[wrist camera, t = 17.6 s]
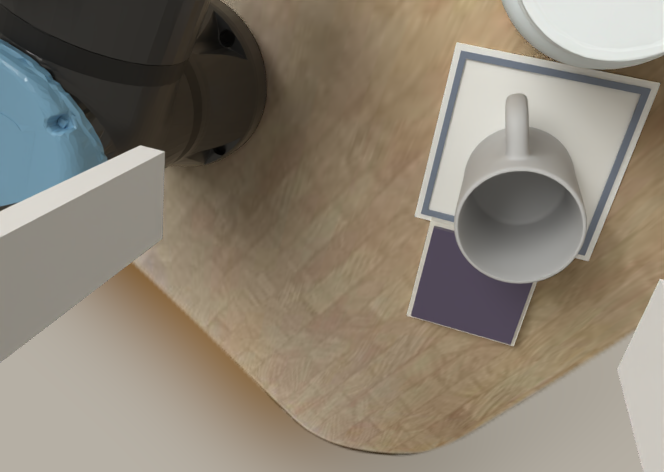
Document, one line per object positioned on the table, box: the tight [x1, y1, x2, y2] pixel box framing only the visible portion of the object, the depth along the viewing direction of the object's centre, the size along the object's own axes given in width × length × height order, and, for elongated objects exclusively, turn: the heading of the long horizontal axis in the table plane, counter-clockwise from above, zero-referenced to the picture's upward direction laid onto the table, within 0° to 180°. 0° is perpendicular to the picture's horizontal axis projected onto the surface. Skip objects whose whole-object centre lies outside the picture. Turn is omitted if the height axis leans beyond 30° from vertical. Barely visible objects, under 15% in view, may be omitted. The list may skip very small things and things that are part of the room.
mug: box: [454, 93, 587, 284], centre depth 43 cm, size 12×8×11 cm
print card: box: [414, 42, 661, 261], centre depth 47 cm, size 15×15×1 cm
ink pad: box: [406, 217, 537, 346], centre depth 52 cm, size 10×10×2 cm
